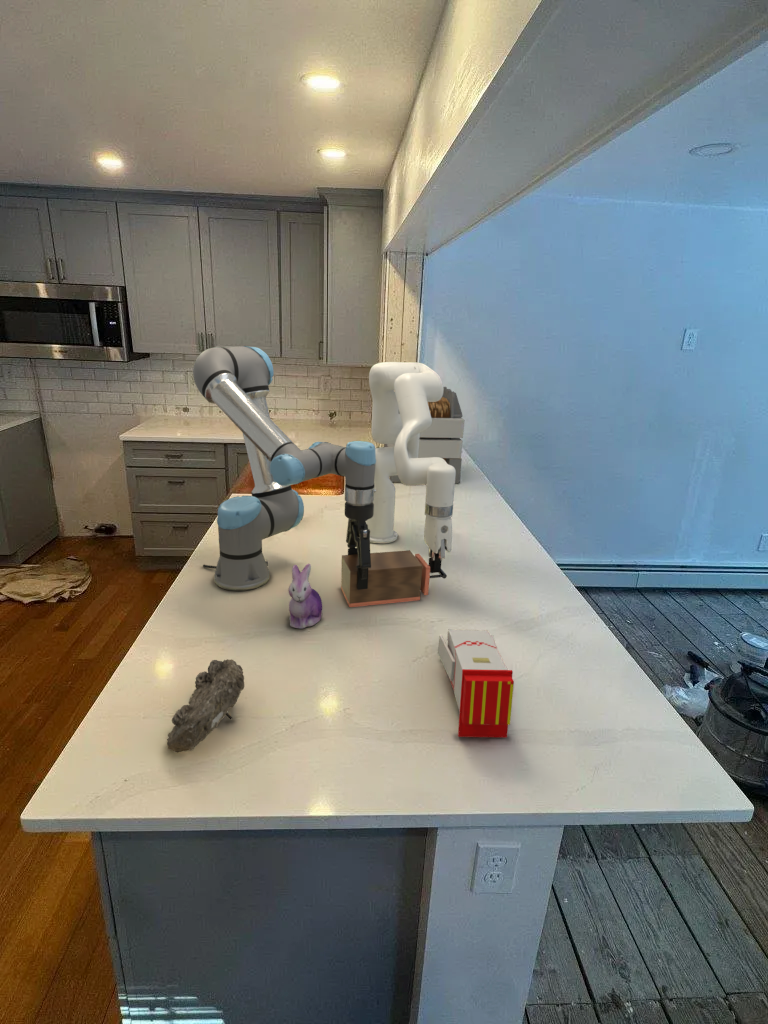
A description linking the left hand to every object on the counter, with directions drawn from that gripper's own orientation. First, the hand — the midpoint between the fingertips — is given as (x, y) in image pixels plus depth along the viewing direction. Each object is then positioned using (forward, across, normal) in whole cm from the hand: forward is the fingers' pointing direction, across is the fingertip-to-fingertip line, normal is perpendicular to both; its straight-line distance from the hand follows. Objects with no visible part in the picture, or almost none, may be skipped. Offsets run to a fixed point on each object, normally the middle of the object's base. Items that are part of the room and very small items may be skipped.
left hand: (357, 579), depth 153 cm
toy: (+5, -45, -14) cm, 47 cm away
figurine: (+5, -10, +16) cm, 19 cm away
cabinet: (+5, 0, -7) cm, 9 cm away
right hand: (0, 0, -22) cm, 22 cm away
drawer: (+4, 0, -13) cm, 13 cm away
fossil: (+5, -41, +38) cm, 56 cm away
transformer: (+5, +115, -59) cm, 129 cm away
